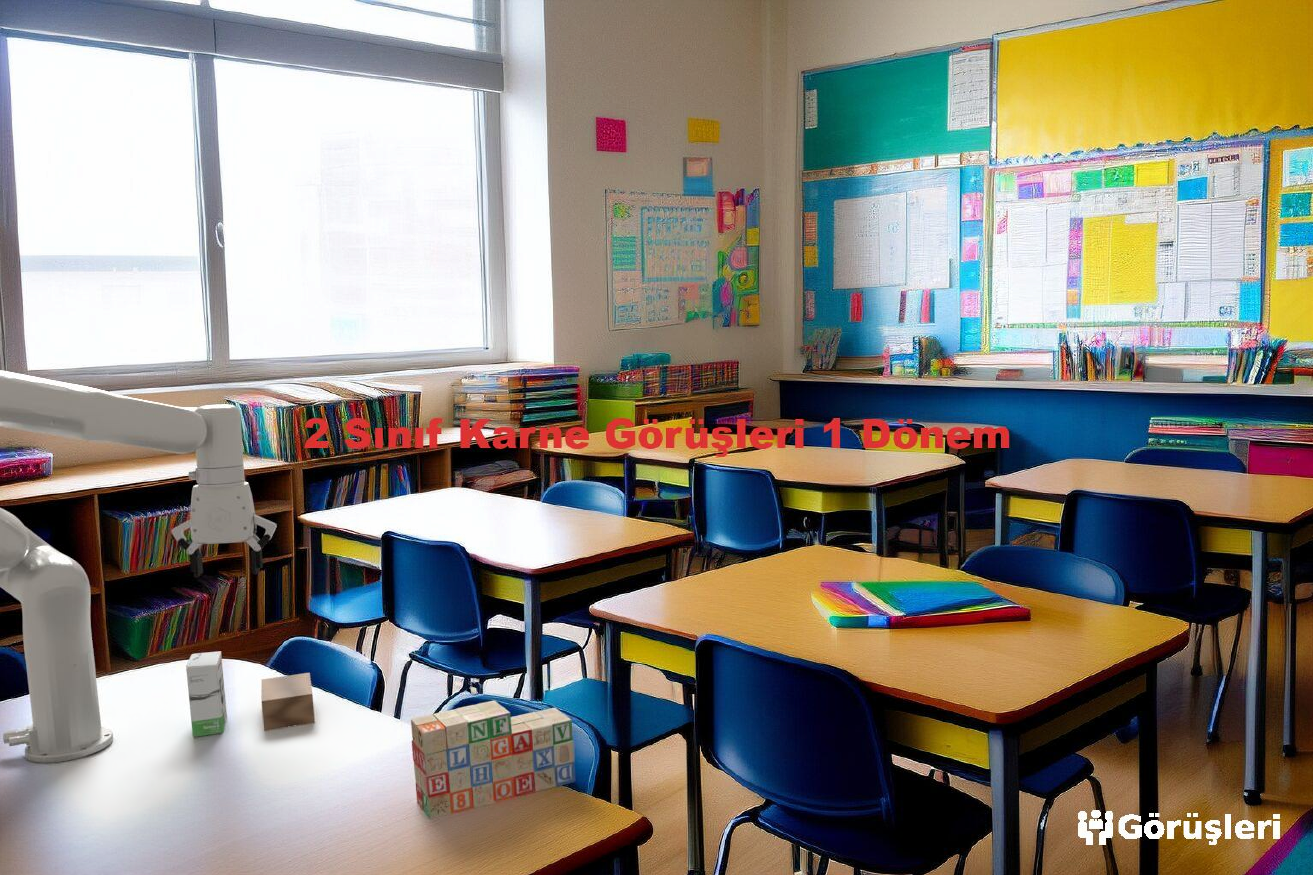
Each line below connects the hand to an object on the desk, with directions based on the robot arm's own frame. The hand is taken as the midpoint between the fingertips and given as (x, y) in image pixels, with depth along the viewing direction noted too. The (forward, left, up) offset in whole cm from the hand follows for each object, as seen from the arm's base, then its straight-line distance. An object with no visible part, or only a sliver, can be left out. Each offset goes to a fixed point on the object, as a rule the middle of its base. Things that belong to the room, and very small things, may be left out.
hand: (227, 573), depth 194 cm
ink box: (-4, -10, -24) cm, 26 cm away
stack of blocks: (+35, -56, -24) cm, 70 cm away
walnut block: (+8, -10, -23) cm, 27 cm away
